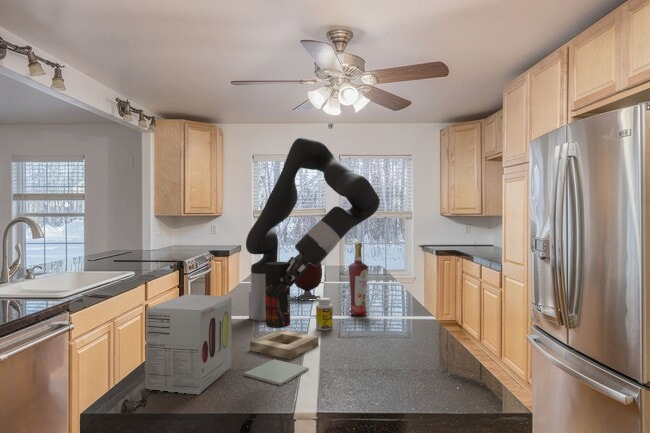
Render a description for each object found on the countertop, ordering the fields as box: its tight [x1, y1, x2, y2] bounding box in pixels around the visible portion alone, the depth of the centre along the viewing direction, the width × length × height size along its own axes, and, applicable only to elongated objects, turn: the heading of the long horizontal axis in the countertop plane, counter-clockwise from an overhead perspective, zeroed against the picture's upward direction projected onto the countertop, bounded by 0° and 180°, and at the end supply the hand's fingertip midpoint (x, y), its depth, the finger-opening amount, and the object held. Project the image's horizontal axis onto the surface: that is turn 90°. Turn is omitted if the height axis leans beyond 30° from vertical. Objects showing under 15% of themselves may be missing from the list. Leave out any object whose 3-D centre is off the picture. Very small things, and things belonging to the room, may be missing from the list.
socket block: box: [249, 329, 319, 360], centre depth 117 cm, size 14×14×2 cm
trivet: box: [243, 358, 309, 386], centre depth 98 cm, size 11×11×1 cm
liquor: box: [348, 242, 369, 318], centre depth 156 cm, size 7×7×28 cm
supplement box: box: [145, 294, 233, 396], centre depth 95 cm, size 17×13×18 cm
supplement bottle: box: [315, 297, 334, 331], centre depth 137 cm, size 6×6×10 cm
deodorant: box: [265, 261, 291, 329], centre depth 98 cm, size 6×6×15 cm
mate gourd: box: [294, 262, 323, 300], centre depth 189 cm, size 16×14×20 cm
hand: (270, 293), depth 98 cm, fingers closed on deodorant, 6 cm apart
